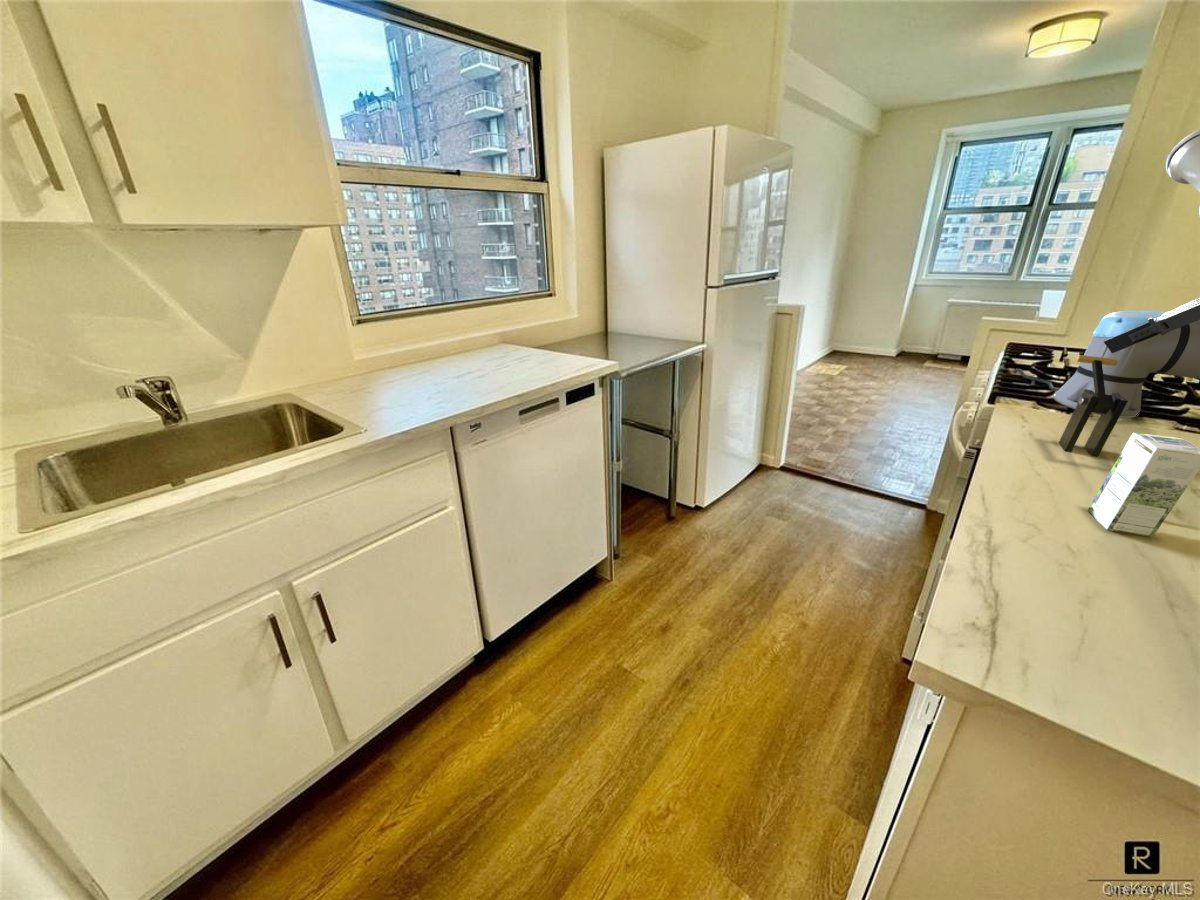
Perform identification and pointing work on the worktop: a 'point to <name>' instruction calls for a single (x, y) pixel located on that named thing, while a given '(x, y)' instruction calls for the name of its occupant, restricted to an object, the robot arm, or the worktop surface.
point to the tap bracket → (1101, 427)
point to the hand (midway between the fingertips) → (1108, 347)
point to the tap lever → (1099, 381)
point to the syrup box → (1145, 483)
